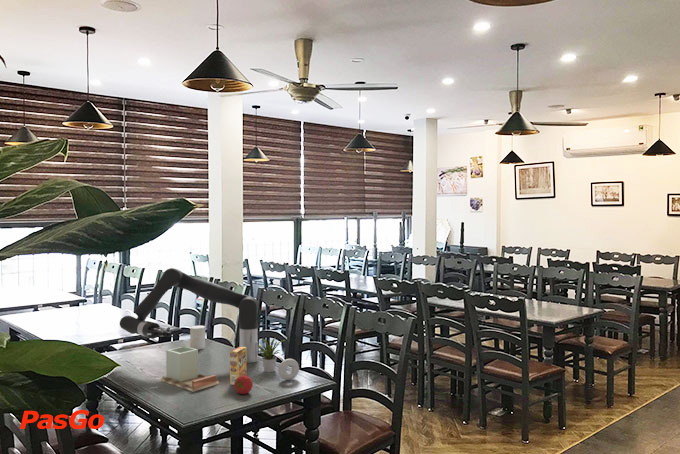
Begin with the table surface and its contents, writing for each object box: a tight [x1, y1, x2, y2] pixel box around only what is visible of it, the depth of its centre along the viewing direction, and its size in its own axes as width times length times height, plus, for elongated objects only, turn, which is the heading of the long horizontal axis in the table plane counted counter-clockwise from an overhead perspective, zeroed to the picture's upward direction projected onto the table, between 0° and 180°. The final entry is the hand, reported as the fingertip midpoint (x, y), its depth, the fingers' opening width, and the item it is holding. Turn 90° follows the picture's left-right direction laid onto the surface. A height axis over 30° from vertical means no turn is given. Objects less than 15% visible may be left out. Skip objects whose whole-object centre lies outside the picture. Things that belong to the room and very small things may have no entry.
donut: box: [277, 358, 300, 381], centre depth 252 cm, size 10×4×10 cm, turn 116°
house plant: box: [257, 337, 286, 373], centre depth 268 cm, size 14×14×16 cm
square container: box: [165, 345, 199, 382], centre depth 251 cm, size 10×10×13 cm
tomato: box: [234, 375, 254, 395], centre depth 232 cm, size 8×8×8 cm
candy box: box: [229, 346, 248, 386], centre depth 248 cm, size 9×4×15 cm, turn 162°
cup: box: [189, 325, 206, 351], centre depth 310 cm, size 8×8×12 cm
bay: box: [160, 373, 220, 393], centre depth 247 cm, size 24×14×4 cm, turn 52°
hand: (169, 334), depth 256 cm, fingers closed
